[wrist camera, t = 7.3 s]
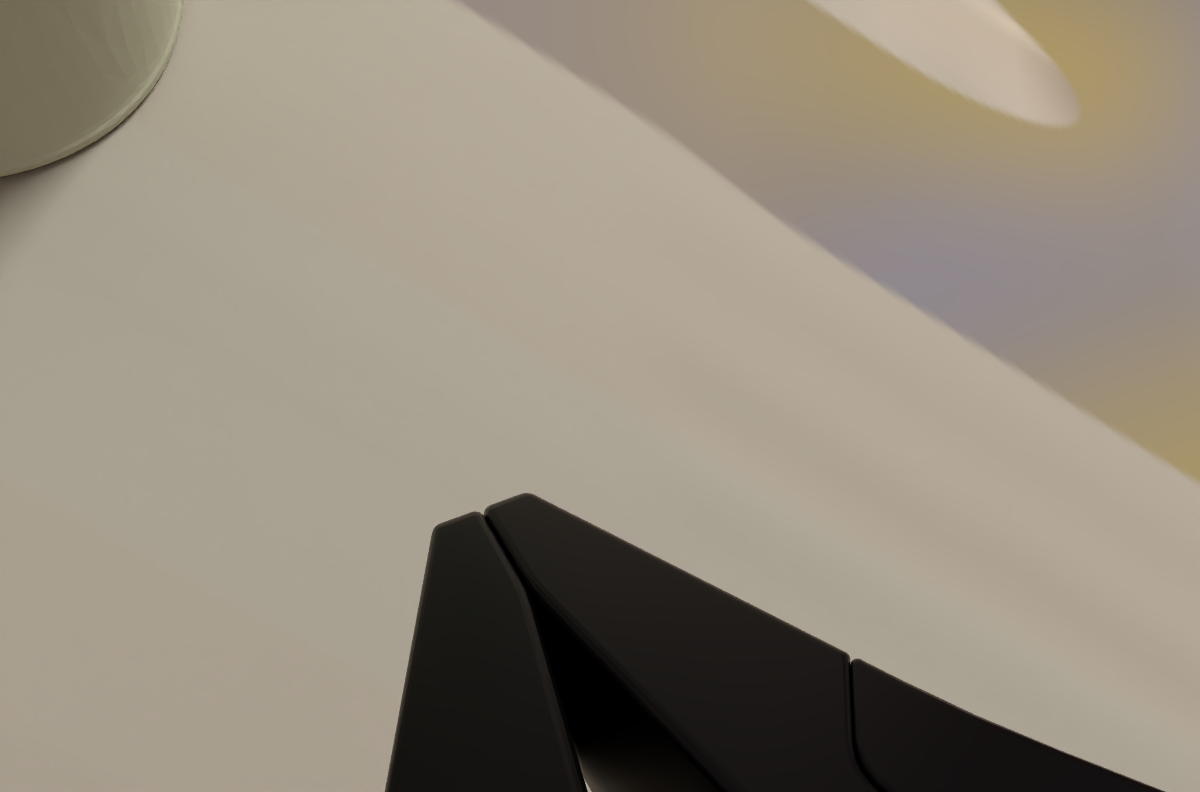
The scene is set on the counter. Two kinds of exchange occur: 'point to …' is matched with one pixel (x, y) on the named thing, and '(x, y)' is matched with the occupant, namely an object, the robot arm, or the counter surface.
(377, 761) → the counter surface
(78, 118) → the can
